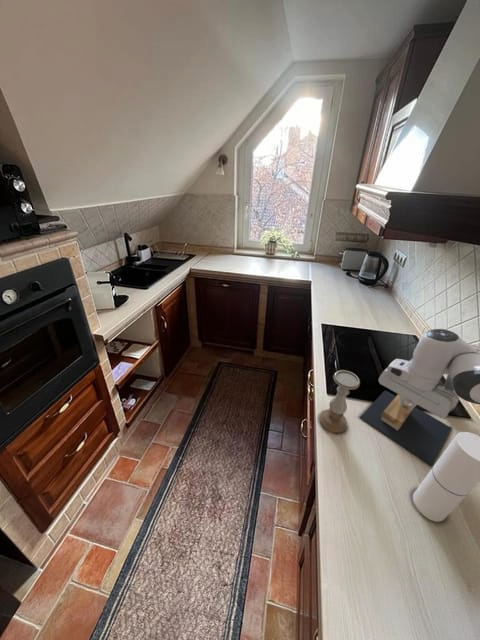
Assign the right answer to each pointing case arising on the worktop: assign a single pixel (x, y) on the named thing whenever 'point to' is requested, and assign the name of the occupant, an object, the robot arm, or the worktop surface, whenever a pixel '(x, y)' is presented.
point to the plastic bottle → (450, 387)
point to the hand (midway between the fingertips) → (404, 407)
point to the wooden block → (396, 413)
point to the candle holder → (339, 402)
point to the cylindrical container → (450, 478)
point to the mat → (410, 429)
